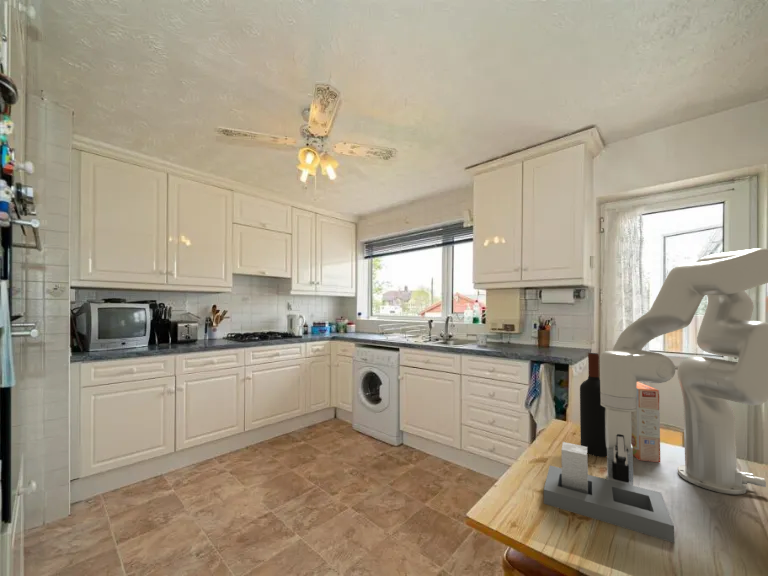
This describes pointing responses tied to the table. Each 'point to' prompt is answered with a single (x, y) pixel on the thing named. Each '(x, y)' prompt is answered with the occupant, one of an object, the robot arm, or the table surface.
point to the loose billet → (610, 459)
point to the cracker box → (646, 424)
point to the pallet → (613, 504)
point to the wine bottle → (592, 411)
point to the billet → (575, 467)
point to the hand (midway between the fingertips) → (619, 474)
